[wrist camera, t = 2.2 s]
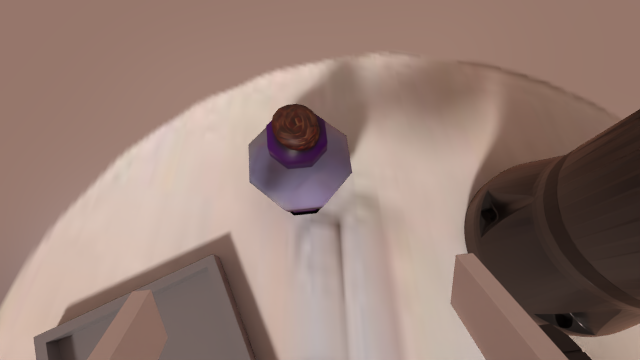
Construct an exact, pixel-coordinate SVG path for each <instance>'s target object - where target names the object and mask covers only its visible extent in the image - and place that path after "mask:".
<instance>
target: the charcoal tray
mask: <svg viewBox="0 0 640 360" xmlns="http://www.w3.org/2000/svg"><path fill="white" fill-rule="evenodd" d="M142 290H151V291H152V294H153V297H154V300H155V303H156V306H157V308H158V311H159V314H160V317H161V320H162V323H163V326H164V328H165V331H166V334H167V337H168V338H167V341H166V343H165V345H164V347H163V350H162V352H161V354H160V357H159V359H158V360H256V358H255V355H254V352H253V350H252V347H251V344H250V341H249V339H248V336H247V333H246V330H245V328H244V325H243V322H242V319H241V317H240V314H239V311H238V308H237V305H236V303H235V300H234V297H233V294H232V292H231V289H230V286H229V283H228V281H227V278H226V275H225V272H224V269H223V267H222V264H221V261H220V258H219V257H218V256H216V255H214V254H212V255H210V256H208V257H205V258H203V259H201V260H199V261H197V262H195V263H193V264H190V265H188V266H186V267H184V268H182V269H180V270H177V271H175V272H173V273H171V274H169V275H167V276H165V277H162V278H160V279H158V280H156V281H154V282H152V283H150V284H147V285H145V286H143V287H141V288H139V289H137V290H134V291H142ZM132 292H133V291H132ZM132 292H130V293H128V294H126V295H124V296H122V297H119V298H117V299H115V300H113V301H111V302H109V303H106V304H104V305H102V306H100V307H98V308H96V309H94V310H91V311H89V312H87V313H85V314H83V315H81V316H78V317H76V318H74V319H72V320H70V321H68V322H66V323H63V324H61V325H59V326H57V327H55V328H53V329H50V330H48V331H46V332H44V333H42V334H40V335H38V336H35V337H34V345H35V353H36V360H87V359H88V357H89V356H90V354H91V353H92V351H93V350H94V348H95V347H96V345H97V344H98V342H99V341H100V339H101V338H102V336H103V335H104V333H105V332H106V330H107V329H108V327H109V326H110V324H111V323H112V321H113V320H114V318H115V317H116V315H117V314H118V312H119V311H120V309H121V308H122V306H123V305H124V303H125V302H126V300H127V299H128V297H129V296H130V294H131V293H132Z"/></svg>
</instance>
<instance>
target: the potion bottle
mask: <svg viewBox="0 0 640 360" xmlns="http://www.w3.org/2000/svg"><path fill="white" fill-rule="evenodd" d="M351 173H352V169H351V163H350V156H349V150H348V144H347V138H346V135H344V134H343V133H341V132H340V131H338V130H337V129H336V128H334V127H333V126H331V125H330V124H328V123H327V122H325V121H324V120H323V119H322V118H320V117H319V116H317V115H316V114H314V113H313V111H312V110H310V109H309V108H307V107H306V106H303V105H298V104H292V105H286V106H284V107H281V108H279V109H278V110H277V111H276V113H275V114H274V115H273V119H272V121H271V122H270V123H269V124H268V125H267V126H266V128H265V129H264V130H263V131H262V132H261V133H260V134H259V135H258V136H257V137H256V138H255V139H254V140H253V141H252V142H251V143H250V144H249V180H250V183H251V184H253V185H254V186H255V187H256V188H257V189H259V190H260V191H261V192H262V193H264V194H265V195H266V196H267V197H269V198H270V199H271V200H272V201H274V202H275V203H276V204H277V205H279V206H280V207H281V208H283V209H284V210H286V211H288V212H291V213H292V214H293V215H303V214H313V213H317V212H318V211H319V210H320V209H321V208H322V207H323V206H324V205H325V204H326V203H327V202H328V200H329V199H330V198H331V197H332V196H333V194H334V193H335V192H336V191H337V190H338V188H339V187H340V186H341V185H342V184H343V183H344V182H345V180H346V179H347V178H348V177H349V175H350V174H351Z"/></svg>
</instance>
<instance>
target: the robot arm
mask: <svg viewBox="0 0 640 360" xmlns="http://www.w3.org/2000/svg"><path fill="white" fill-rule="evenodd" d="M465 241H466V247H467V251H468V254H461V255H456V259H455V268H454V277H453V286H452V295H451V305H452V307H453V308H454V310H455V311H456V313H457V315H458V316H459V318H460V319H461V321H462V322H463V324H464V326H465V327H466V329H467V330H468V332H469V334H470V335H471V337H472V338H473V340H474V341H475V343H476V345H477V346H478V348H479V349H480V351H481V353H482V354H483V356H484V357H485V359H486V360H592V359H591V358H590V357H589V356H588V355H587V354H586V353H585V352H582V349H581V348H580V347H579V346H578V345H577V344H576V343H575V342H574V341H573V340H572V339H571V338H570V337H569V336H568V335H570V336H581V337H597V336H604V335H610V334H614V333H617V332H620V331H623V330H625V329H628V328H630V327H633V326H635V325H637V324H640V109H639V110H638V111H636V112H635V113H633V114H631V115H630V116H628V117H626V118H625V119H623V120H621V121H620V122H618V123H617V124H615V125H613V126H612V127H610V128H608V129H607V130H605V131H603V132H602V133H600V134H599V135H597V136H595V137H594V138H592V139H590V140H589V141H587V142H585V143H584V144H582V145H581V146H579V147H578V148H576V149H575V150H573V151H571V152H570V153H568V154H567V155H563V156H558V157H553V158H549V159H544V160H539V161H534V162H529V163H524V164H520V165H517V166H514V167H512V168H509V169H507V170H505V171H503V172H501V173H500V174H498V175H497V176H496V177H494V178H493V179H492V180H490V181H489V182H488V183H486V184H485V185H484V186H483V187H482V188H481V189H480V190H479V191H478V192H477V194H476V195H475V196H474V198H473V200H472V201H471V204H470V206H469V209H468V211H467V215H466V221H465ZM167 338H168V337H167V334H166V331H165V328H164V326H163V323H162V320H161V317H160V314H159V311H158V308H157V306H156V303H155V300H154V297H153V294H152V291H151V290H142V291H133V292H132V293H131V294H130V296H129V297H128V299H127V300H126V302H125V303H124V305H123V306H122V308H121V309H120V311H119V312H118V314H117V315H116V317H115V318H114V320H113V321H112V323H111V324H110V326H109V327H108V329H107V330H106V332H105V333H104V335H103V336H102V338H101V339H100V341H99V342H98V344H97V345H96V347H95V348H94V350H93V351H92V353H91V354H90V356H89V357H88V359H87V360H158V359H159V357H160V354H161V352H162V350H163V347H164V345H165V343H166V341H167Z"/></svg>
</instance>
